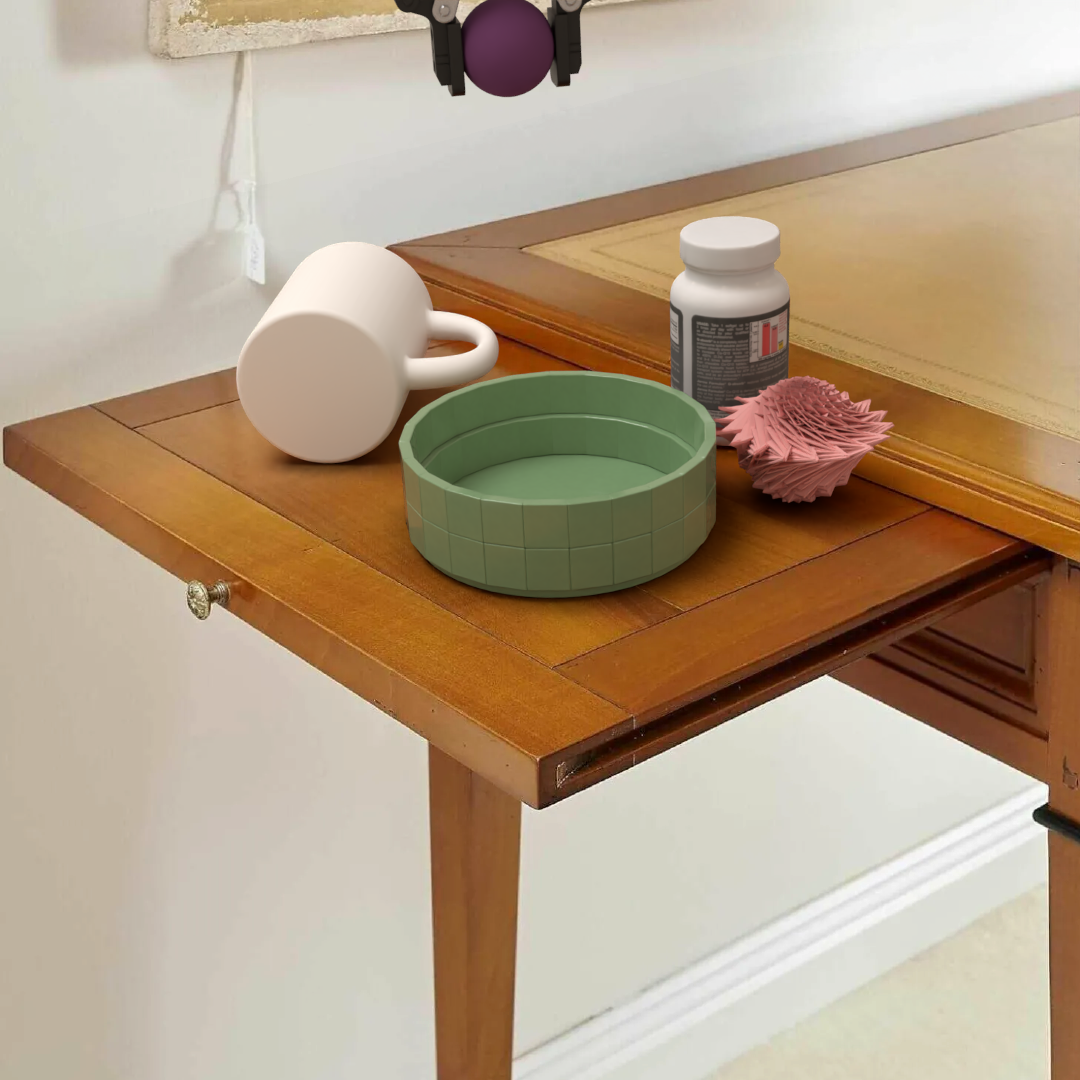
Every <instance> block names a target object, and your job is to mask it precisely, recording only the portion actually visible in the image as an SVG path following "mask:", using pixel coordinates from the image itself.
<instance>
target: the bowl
mask: <svg viewBox="0 0 1080 1080" xmlns="http://www.w3.org/2000/svg"><path fill="white" fill-rule="evenodd" d="M398 453H399V462H400V472H401V482H402V491H403V492H402V494H403V502H404V514H405V515H404V516H405V524H406V527H407V532H408V536H409V540H410V543H411V544H412V545H413V546H414V547H415V549H416V550H417V551H418V552H419V553H420V555H422V556H423V558H424V559H425V560H427V561H428V562H429V563H430V564H431V565H432V566H433V567H434V568H435V569H436V570H438V571H440V573H443V574H444V575H446V576H448V577H450V578H451V579H454V580H456V581H458V582H460V583H463V584H466V585H468V586H471V587H474V588H478V589H481V590H485V591H488V592H491V593H497V594H503V595H508V596H515V597H518V596H519V597H525V598H541V599H542V598H545V599H547V598H548V599H550V598H551V599H555V598H556V599H558V598H578V597H586V596H594V595H601V594H606V593H607V594H608V593H612V592H617V591H621V590H625V589H630V588H632V587H636V586H638V585H641V584H642V585H643V584H645V583H648V582H650V581H652V580H655V579H657V578H659V577H661V576H664V575H666V574H667V573H669V572H671V571H673V570H675V569H677V568H678V567H679V566H681V565H682V564H684V563H685V562H686V561H688V560H689V559H690V558H691V557H692V556H693V555H694V554H695V553H696V552H697V551H698V549H700V547H701V546H702V545H703V544H704V543H705V541H706V540H707V538H708V537H709V534H710V532H711V531H712V529H713V528H714V525H715V523H716V520H717V519H716V518H717V445H716V423H715V421H714V420H713V418H712V417H711V415H710V414H709V412H708V411H707V409H706V408H705V407H704V406H703V405H702V404H700V403H699V402H697V401H696V400H695V399H693V398H692V397H690V396H689V395H687V394H686V393H684V392H682V391H679V390H677V389H674V388H672V387H671V386H669V385H667V384H664V383H661V382H660V381H659V382H658V381H656V380H652V379H647V378H643V377H639V376H638V377H637V376H633V375H629V374H623V373H614V372H603V371H595V370H594V371H593V370H545V371H538V372H529V373H527V372H526V373H521V374H520V373H518V374H512V375H511V374H510V375H506V376H501V377H497V378H493V379H489V380H488V379H487V380H484V381H480V382H476V383H473V384H470V385H468V386H464V387H462V388H459V389H456V390H454V391H451V392H448V393H445V394H444V395H442V396H440V397H438V398H437V399H435V400H433V401H431V402H430V403H428V404H426V405H424V406H423V407H421V408H420V409H419V410H418V411H416V413H415V414H414V415H413V416H412V417H410V419H409V420H408V421H407V422H406V423H405V424H404V426H403V429H402V432H401V434H400V437H399V440H398Z"/></svg>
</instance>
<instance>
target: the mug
mask: <svg viewBox="0 0 1080 1080" xmlns="http://www.w3.org/2000/svg"><path fill="white" fill-rule="evenodd" d="M431 341H459V342H460V341H461V342H465V343H466V342H467V343H471V344H473V345H475V346H476V347H475V348H474V349H472V350H470V351H467V352H463V353H459V354H454V355H453V354H452V355H447V356H437V357H425V356H426V355H427V354H426V353H427V351H428V349H429V347H430V345H431ZM499 345H500V344H499V341H498V338H497V335H496V333H495V332H494V331H493V330H492V329H491V328H490V326H488V325H487V324H485V323H484V322H481V321H479V320H478V319H475V318H472V317H470V316H467V315H465V314H464V315H463V314H460V313H455V312H449V311H440V310H434V306H433V303H432V299H431V296H430V293H429V290H428V288H427V286H426V284H425V283H424V281H423V279H422V278H421V276H420V275H419V274H418V272H417V271H416V270H415V269H414V268H413V267H412V266H411V265H410V264H409V263H408V262H407V261H406V260H405V259H404V258H402V257H400V256H399V255H397V254H396V253H395V252H393V251H391V250H389V249H387V248H385V247H382V246H379V245H377V244H373V243H369V242H364V241H344V242H343V241H342V242H337V243H332V244H328V245H326V246H323V247H321V248H319V249H317V250H316V251H314V252H312V253H310V254H309V255H308V256H307V257H306V258H304V259H303V260H302V261H301V262H300V263H299V264H298V265H297V267H296V268H295V270H294V271H293V272H292V274H291V275H290V277H288V280H287V281H286V282H285V284H284V285H283V286H282V288H281V289H280V291H279V292H278V294H277V295H276V297H275V298H274V300H273V301H272V303H271V304H270V305H269V307H268V308H267V310H266V311H265V312H264V314H263V315H262V317H261V318H260V319H259V322H258V323H257V324H256V325H255V327H254V328H253V330H252V332H251V333H250V334H249V336H248V337H247V339H246V340H245V342H244V344H243V346H242V348H241V350H240V353H239V356H238V360H237V363H236V372H235V373H236V374H235V376H236V377H235V381H236V389H237V394H238V398H239V401H240V404H241V407H242V409H243V411H244V414H245V415H246V417H247V419H248V420H249V422H250V423H251V425H252V426H253V428H254V429H255V430H256V431H257V432H258V433H259V435H261V436H262V437H263V439H265V440H266V441H267V442H268V443H270V444H271V445H272V446H274V447H275V448H276V449H278V450H280V451H282V452H284V453H285V454H287V455H290V456H292V457H294V458H296V459H300V460H304V461H307V462H312V463H319V464H335V463H337V464H338V463H344V462H349V461H353V460H355V459H358V458H360V457H362V456H364V455H367V454H368V453H370V452H372V451H373V450H375V449H376V448H377V447H379V445H381V444H382V443H383V442H384V441H385V440H386V439H387V437H389V435H390V433H391V432H392V431H393V429H394V427H395V426H396V424H397V421H398V420H399V417H400V414H401V412H402V410H403V408H404V406H405V404H406V401H407V398H408V396H409V394H410V392H411V391H420V390H434V389H442V388H449V387H455V386H459V385H463V384H467V383H471V382H474V381H476V380H478V379H481V378H483V377H485V376H486V375H488V374H489V373H490V372H491V371H492V370H493V368H495V365H496V363H497V361H498V359H499V354H500V353H499V351H500V347H499Z"/></svg>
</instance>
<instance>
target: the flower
mask: <svg viewBox="0 0 1080 1080" xmlns="http://www.w3.org/2000/svg"><path fill="white" fill-rule="evenodd" d="M836 388H837V386H835V384H833V383H831V384H830V382H828V381H827V380H821V379H820V378H818V377H817V378H815V377H814V376H812V377H811V376H810V375H805V376H792V377H790V378H788V379H784V380H780V381H779V383H776V384H775V385H772V386H768V387H767V389H766V390H764V391H763V390H759V393H760V395H759V396H757V397H752V398H741V397H738V396H737V397H736V398H734V399H735V400H738V401H740V402H741V403H742V404H744V405H739V406H733V407H719V406H718V409H720V410H721V411H724V412H726V413H728V414H731V415H729V416H727V417H725V418H720V419H716V418H715V419H713V420H714V421H715V422H719V423H720V424H721V425H723V426H724V427H725V428H724V429H723V430H721V431H716V435H720V436H721V437H723V438H725V439H727V440H728V441H730V442H731V444H729V446H728V447H733V448H735V449H736V453H737V458H738V459H737V460H738V462H737V464H738V466H739V468H740V469H743V470H744V471H745V474H748V475H749V476H750V477H751V481H752V482H753V483H752V489H757V490H762V494H767V495H770V496H771V499H772V500H775V499H781V501H782V503H788V504H789V503H792V502H795V503H797V504H800V503H801V502H807V503H813V502H815V500H816V498H819V497H831V496H832V494H833V491H834V489H835V487H839V486H840V487H841V486H847V484H848V481H849V479H850V476H851V473H852V471H853V469H856V468H857V465H858V464H859V462H861V460H862V459H863V458H864V457H865V456H866V455H867V453H870V452H873V451H875V446H877V445H879V444H881V443H883V442H885V441H887V440H889V439H890V438H891V435H887V434H885V433H886V432H888V431H890V430H891V429H893V428H894V427H895V424H894V423H893V421H892V422H891V421H890V422H889V421H888V422H885V421H883V420H884V419H885V417H886V416H887V414H888V412H889V411H888V410H883V409H882V410H873V411H870V407H871V403H872V399H871V398H868V399H864V400H861V401H858V402H853V401H851V399H850V396H849V392H848V391H845V390H844V391H842V392H841V393H840V391H839V390H838V389H836ZM882 421H883V422H882Z"/></svg>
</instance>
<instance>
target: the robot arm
mask: <svg viewBox="0 0 1080 1080" xmlns="http://www.w3.org/2000/svg"><path fill="white" fill-rule="evenodd" d="M393 1H394V3H395V5H396V7H397V8H398V10H399V11H401V12H402V13H407V14H409V13H410V14H414V15H417V16H422V17H424V18H426V19H427V20H428V22H429V32H430V43H431V44H430V45H431V57H432V69H433V72H434V74H435V75H434V76H435V77H436V79H437V81H438V82H439V84H440V87H446V86H447V90H448V92H449V94H450V96H451V97H462V96H466V79H465V72H464V63H463V49H462V35H461V27H462V24H461V22H460V20H459V19H458V18H457V17H458V16H456V15H457V12H458V8H459V4H460V0H393ZM550 1H551V6H550V7H549V6H548V7H546V18H547V20H548V22H549V24H550V26H551V29H552V31H553V36H554V45H555V52H554V59H553V62H552V65H551V68H550V70H549V75H550V79H551V82H552V84H553V85H554V86H555V87H556V88H563V87H570V86H571V81H572V80H571V75H578V74H579V73H580V70H581V67H582V65H583V60H582V35H581V30H582V29H581V12H582V10H583V8H584V6H586V4H587V3H589V2H591V1H592V0H550Z"/></svg>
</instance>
